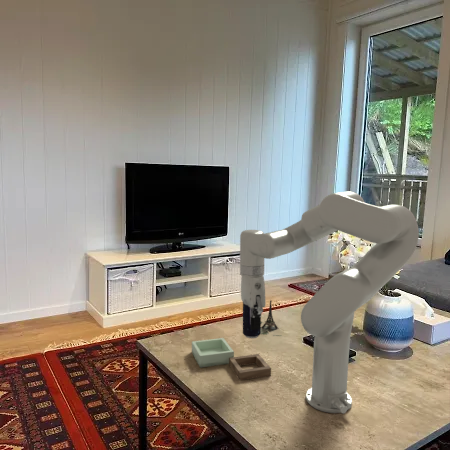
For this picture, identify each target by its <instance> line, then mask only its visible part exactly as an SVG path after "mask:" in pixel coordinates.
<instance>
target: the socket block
mask: <svg viewBox="0 0 450 450" xmlns="http://www.w3.org/2000/svg"><path fill="white" fill-rule="evenodd" d="M253 364H256V365H257V367H254V368H248V369H243V368H242V367H241V366H247V365H253ZM228 366H229V367H230V368H231V370H232V371H233V373H234V374H235V376H236V377H237V379H238V380H239V381H245V380H251V379H257V378H258V379H259V378H265V377H271V376H272V368H271V366H270V365H269V363H267V362H266V361H265V360H264V358H263V357H262V356H261V355H260V354H259V353H256V354H250V355H249V354H248V355H242V356H234V357H232V358H229V364H228Z"/></svg>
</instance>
